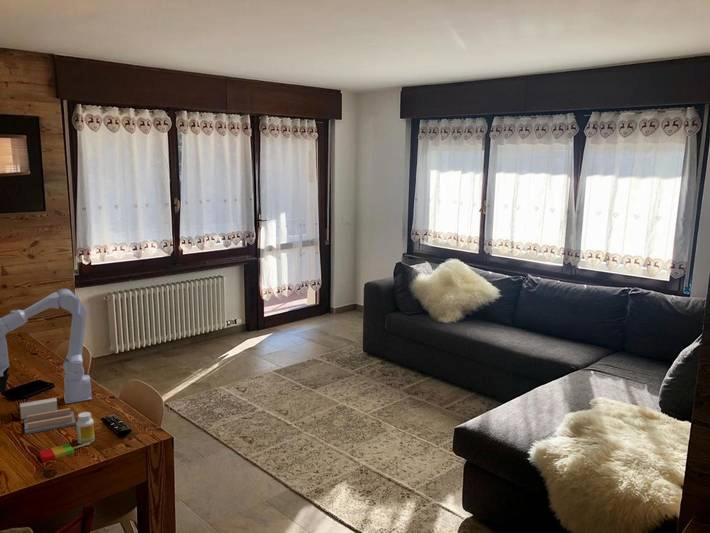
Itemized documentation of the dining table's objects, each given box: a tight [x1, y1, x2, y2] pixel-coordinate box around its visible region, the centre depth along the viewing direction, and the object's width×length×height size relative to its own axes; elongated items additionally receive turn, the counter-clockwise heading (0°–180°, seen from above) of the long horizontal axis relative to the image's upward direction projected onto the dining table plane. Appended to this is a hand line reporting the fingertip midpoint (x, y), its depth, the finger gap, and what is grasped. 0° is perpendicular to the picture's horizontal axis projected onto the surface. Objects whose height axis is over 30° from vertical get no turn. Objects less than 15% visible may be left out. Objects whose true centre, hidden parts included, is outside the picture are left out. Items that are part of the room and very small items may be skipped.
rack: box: [23, 407, 77, 435], centre depth 210 cm, size 16×10×3 cm, turn 120°
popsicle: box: [39, 442, 91, 463], centre depth 192 cm, size 6×15×2 cm, turn 131°
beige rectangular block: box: [19, 397, 59, 420], centre depth 217 cm, size 12×4×5 cm, turn 120°
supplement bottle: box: [75, 411, 96, 445], centre depth 199 cm, size 5×5×10 cm
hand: (2, 388), depth 216 cm, fingers open, 7 cm apart
